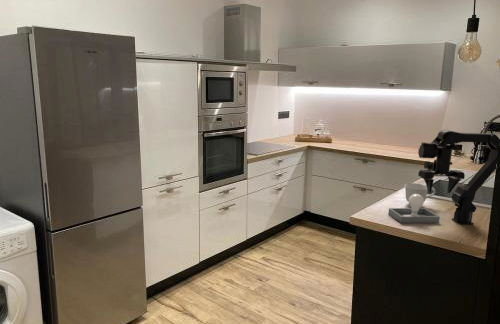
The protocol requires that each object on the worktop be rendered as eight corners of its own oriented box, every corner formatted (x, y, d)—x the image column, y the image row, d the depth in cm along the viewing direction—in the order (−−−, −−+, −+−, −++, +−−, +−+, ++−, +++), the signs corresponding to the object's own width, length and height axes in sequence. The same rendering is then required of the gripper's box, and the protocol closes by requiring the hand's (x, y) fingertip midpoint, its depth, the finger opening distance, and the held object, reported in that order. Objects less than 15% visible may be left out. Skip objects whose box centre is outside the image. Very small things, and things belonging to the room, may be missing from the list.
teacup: (436, 210, 191) (438, 190, 189) (404, 207, 194) (406, 188, 192) (430, 203, 203) (432, 184, 201) (400, 200, 206) (402, 182, 204)
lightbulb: (403, 216, 178) (407, 193, 176) (409, 213, 182) (413, 191, 180) (417, 220, 174) (421, 197, 171) (423, 217, 178) (427, 194, 176)
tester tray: (424, 214, 185) (425, 208, 185) (439, 223, 174) (439, 216, 173) (388, 214, 183) (388, 208, 182) (400, 223, 171) (401, 217, 171)
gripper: (452, 155, 180) (447, 188, 183) (413, 155, 177) (409, 188, 181) (467, 160, 169) (462, 195, 172) (427, 160, 167) (423, 195, 170)
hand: (438, 193), depth 174 cm, fingers open, 9 cm apart
